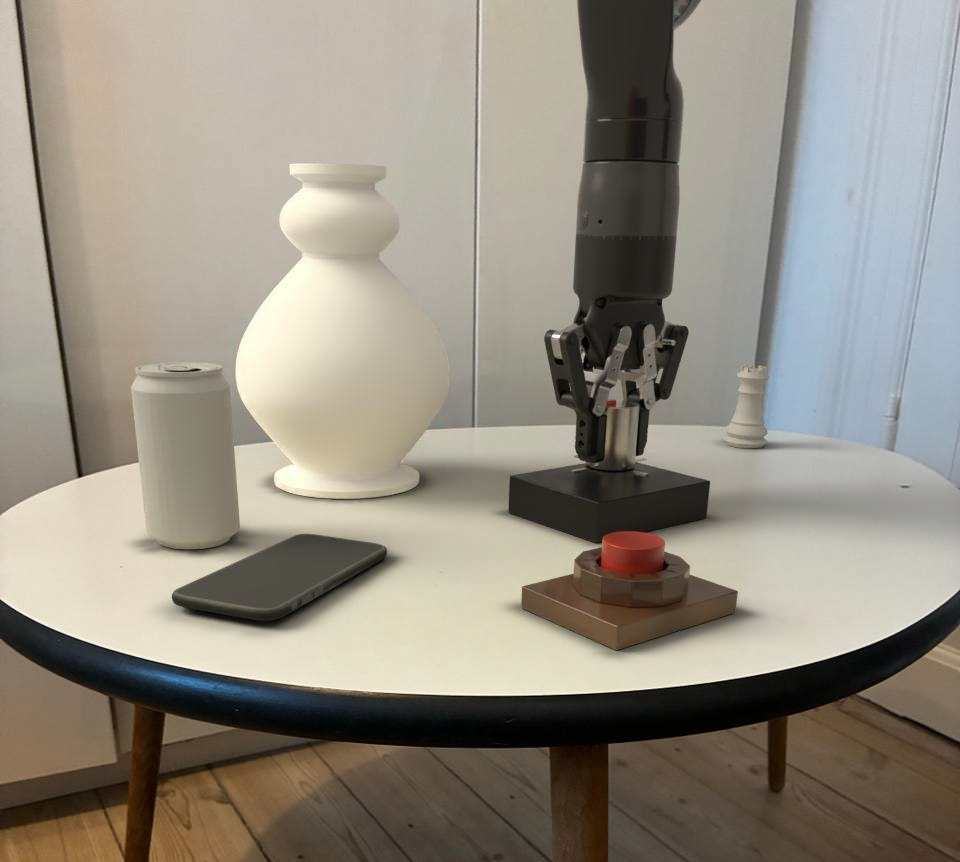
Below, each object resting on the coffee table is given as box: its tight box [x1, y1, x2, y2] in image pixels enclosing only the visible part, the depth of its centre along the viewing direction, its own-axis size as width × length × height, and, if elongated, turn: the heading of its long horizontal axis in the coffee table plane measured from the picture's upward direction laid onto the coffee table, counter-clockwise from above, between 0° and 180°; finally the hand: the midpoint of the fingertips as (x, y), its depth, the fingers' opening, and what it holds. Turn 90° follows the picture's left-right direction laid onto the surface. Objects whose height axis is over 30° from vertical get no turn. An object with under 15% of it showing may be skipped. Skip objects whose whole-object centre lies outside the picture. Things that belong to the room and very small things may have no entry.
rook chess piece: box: [723, 364, 770, 449], centre depth 106 cm, size 4×4×8 cm
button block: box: [520, 546, 739, 651], centre depth 60 cm, size 10×8×3 cm
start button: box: [601, 531, 666, 574], centre depth 59 cm, size 4×4×2 cm
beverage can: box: [130, 361, 241, 550], centre depth 70 cm, size 6×6×12 cm
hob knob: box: [585, 398, 640, 471], centre depth 82 cm, size 4×4×5 cm
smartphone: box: [171, 533, 388, 622], centre depth 64 cm, size 7×1×15 cm
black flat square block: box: [508, 454, 711, 544], centre depth 81 cm, size 13×12×3 cm
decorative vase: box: [235, 162, 451, 500], centre depth 85 cm, size 18×18×25 cm
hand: (610, 456), depth 83 cm, fingers closed on hob knob, 4 cm apart
